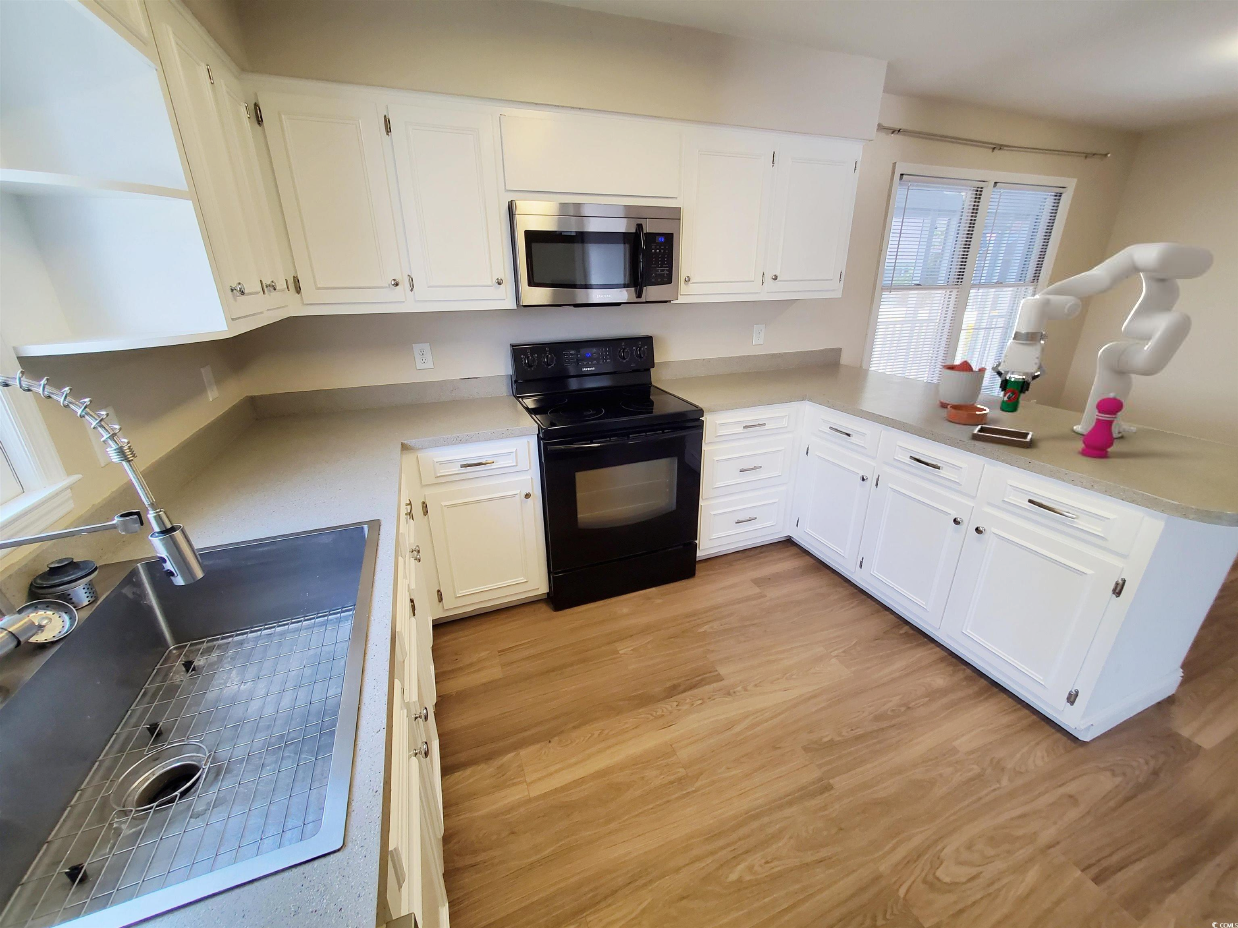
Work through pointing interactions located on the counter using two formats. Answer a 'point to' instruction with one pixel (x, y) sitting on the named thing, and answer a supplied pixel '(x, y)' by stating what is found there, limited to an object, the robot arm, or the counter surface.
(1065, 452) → the counter surface
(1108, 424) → the pepper mill
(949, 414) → the bowl
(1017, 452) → the counter surface
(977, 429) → the tray
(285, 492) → the counter surface
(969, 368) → the citrus juicer
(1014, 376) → the soda can
